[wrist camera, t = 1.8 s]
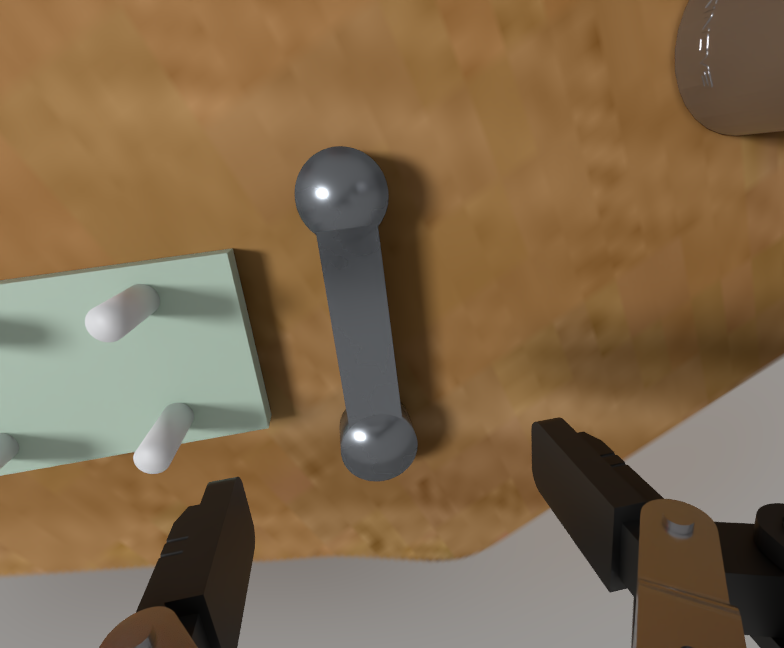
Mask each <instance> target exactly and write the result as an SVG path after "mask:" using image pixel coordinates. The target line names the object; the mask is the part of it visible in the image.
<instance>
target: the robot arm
mask: <svg viewBox="0 0 784 648" xmlns="http://www.w3.org/2000/svg"><path fill="white" fill-rule="evenodd" d="M675 73H676V78H677V83H678V88H679V92H680V94H681V96H682V98H683V101H684V103H685V105H686V107H687V108H688V110H689V111H690V112H691V114H692V115H693V116H694V118H695V119H696V120H697V121H699V122H700V123H701V124H702V125H704V126H705V127H706V128H708V129H710V130H713V131H715V132H717V133H720V134H725V135H734V136H738V135H748V134H758V133H768V132H778V131H784V0H689V2H688V4H687V6H686V8H685V11H684V14H683V17H682V20H681V23H680V26H679V29H678V35H677V41H676V47H675ZM532 472H533V477H534V481H535V484H536V486H537V488H538V490H539V492H540V494H541V495H542V496H543V498H544V499H545V501H546V502H547V504H548V505H549V506H550V508H551V509H552V511H553V512H554V514H555V515H556V516H557V518H558V519H559V521H560V522H561V524H562V525H563V526H564V528H565V529H566V530H567V532H568V534H569V535H570V536H571V538H572V539H573V541H574V542H575V544H576V545H577V546H578V548H579V549H580V551H581V552H582V553H583V555H584V556H585V558H586V559H587V561H588V562H589V563H590V565H591V566H592V568H593V569H594V571H595V572H596V574H597V575H598V576H599V578H600V579H601V581H602V582H603V584H604V585H605V586H606V588H607V589H608V591H609V592H614V591H618V590H622V589H626V588H628V589H629V591H630V592H631V593H632V595H633V596H634V601H633V619H632V640H631V648H746V643H745V637H744V635H750V636H751V637H752V638H753V640H754V641H755V642H756V643H757V644H758V645H759V647H760V648H784V504H780V503H775V504H768V505H765V506H762V507H761V508H760V509H758V511H757V514H756V519H755V524H745V523H726V522H714V521H713V520H712V519H711V518H710V517H709V516H708V515H707V514H706V513H704V512H703V511H701V510H700V509H698V508H696V507H694V506H692V505H690V504H687V503H685V502H681V501H677V500H672V499H664V498H663V497H662V496H661V495H660V494H658V493H657V492H656V491H655V490H654V489H653V488H652V487H651V486H650V485H649V484H647V482H645V481H644V480H643V479H642V478H641V477H640V476H639V475H638V474H637V473H636V472H635V471H634V470H632V468H630V467H629V466H628V465H625V462H624V461H623V460H622V459H621V458H620V457H619V456H618V455H615V454H614V452H613V451H612V450H611V449H610V448H609V447H608V446H607V445H606V444H605V443H604V442H603V441H601V440H599V439H597V438H595V437H593V436H591V435H589V434H587V433H585V432H579V433H577V432H576V431H575V430H574V429H573V428H572V427H571V426H570V425H569V424H568V423H567V422H566V421H565V420H563V419H562V418H554V419H548V420H543V421H538V422H534V423H533V424H532ZM254 549H255V532H254V525H253V521H252V517H251V513H250V510H249V506H248V502H247V498H246V495H245V491H244V487H243V483H242V481H241V479H240V477H235V478H229V479H224V480H219V481H213V482H209V483H208V485H207V487H206V490H205V492H204V495H203V498H202V501H201V503H200V505H195V506H189V507H188V508H187V509H186V510H185V511H184V512H183V513H182V515H181V516H180V517H179V518H178V519H177V520H176V521H175V522H174V524H173V526H172V529H171V531H170V533H169V536H168V538H167V544H165V545H164V547H163V550H162V552H161V558H159V559H158V562H157V564H156V566H155V569H154V571H153V573H152V576H151V578H150V580H149V583H148V586H147V588H146V590H145V592H144V595H143V597H142V599H141V602H140V604H139V606H138V609H137V611H136V613H135V614H133V615H131V616H129V617H128V618H126V619H125V620H123V621H122V622H121V623H119V624H118V625H117V626H116V627H115V628H114V629H113V630H112V631H111V632H110V633H109V634H108V635H107V637H106V638H105V639H104V641H103V642H102V644H101V645H100V647H99V648H237V646H238V639H239V634H240V628H241V622H242V617H243V612H244V606H245V600H246V593H247V588H248V583H249V578H250V572H251V566H252V561H253V555H254Z"/></svg>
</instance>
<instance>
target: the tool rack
mask: <svg viewBox="0 0 784 648" xmlns="http://www.w3.org/2000/svg"><path fill="white" fill-rule="evenodd" d="M270 419H271V411H270V406H269V402H268V398H267V394H266V389H265V385H264V381H263V376H262V372H261V368H260V363H259V359H258V355H257V351H256V346H255V342H254V338H253V333H252V329H251V325H250V320H249V316H248V312H247V308H246V303H245V299H244V295H243V290H242V286H241V282H240V277H239V273H238V269H237V265H236V260H235V256H234V252H233V248H232V249H225V250H218V251H211V252H203V253H196V254H189V255H182V256H174V257H167V258H160V259H153V260H145V261H138V262H131V263H124V264H116V265H109V266H102V267H94V268H87V269H80V270H73V271H65V272H58V273H51V274H44V275H36V276H29V277H22V278H15V279H7V280H0V476H1V475H7V474H12V473H18V472H24V471H29V470H35V469H41V468H46V467H52V466H57V465H63V464H69V463H74V462H80V461H86V460H91V459H97V458H103V457H108V456H114V455H120V454H125V453H131V452H135V453H134V457H133V459H134V463H135V465H136V466H137V468H139V469H140V470H141V471H143V472H145V473H149V474H157V473H161V472H163V471H165V470H166V469H167V468H168V467H169V465H170V463H171V461H172V460H173V458H174V456H175V454H176V452H177V450H178V448H179V446H180V445H181V444H182V443H187V442H193V441H199V440H204V439H210V438H215V437H221V436H227V435H232V434H238V433H244V432H249V431H255V430H261V429H266V428H269V424H270Z"/></svg>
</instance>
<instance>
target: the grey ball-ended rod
mask: <svg viewBox="0 0 784 648" xmlns="http://www.w3.org/2000/svg"><path fill="white" fill-rule="evenodd" d="M295 202H296V206H297V210H298V212H299V215H300V217H301V219H302V220H303V222H304V223H305V225H306V226H307V227H308V228H309V229H310V230H311V231H312V232H313V233H315V234H316V235H317V241H318V247H319V253H320V259H321V265H322V271H323V276H324V282H325V288H326V294H327V300H328V306H329V312H330V317H331V323H332V329H333V335H334V341H335V347H336V352H337V358H338V364H339V370H340V376H341V382H342V388H343V393H344V399H345V405H346V410H345V411H344V413H343V415H342V417H341V420H340V443H341V456H342V459H343V462H344V464H345V466H346V467H347V469H348V470H349V471H350V472H351V473H352V474H354V475H355V476H357V477H359V478H361V479H364V480H368V481H384V480H388V479H391V478H394V477H396V476H398V475H400V474H401V473H403V472H404V471H405V470H406V469H407V468H408V467H409V466H410V465H411V463H412V462H413V460H414V458H415V456H416V452H417V446H418V445H417V437H416V435H415V432H414V429H413V426H412V423H411V421H410V418H409V415H408V412H407V410H406V408H405V407H404V406H403V404H402V403H401V402H400V397H399V389H398V381H397V373H396V365H395V357H394V349H393V341H392V333H391V326H390V318H389V310H388V302H387V294H386V286H385V278H384V270H383V262H382V254H381V246H380V238H379V231H378V226H379V224H380V223H381V221H382V220H383V218H384V216H385V213H386V210H387V206H388V187H387V182H386V179H385V177H384V175H383V172H382V171H381V169H380V167H379V166H378V165H377V164H376V162H375V161H374V160H373V159H372V158H370V157H369V156H368V155H366V154H365V153H363V152H361V151H359V150H357V149H354V148H350V147H343V146H339V147H331V148H327V149H324V150H322V151H320V152H318V153H316V154H315V155H313V156H312V157H311V158H310V159H309V160H308V161H307V162H306V163H305V164H304V165H303V167H302V169H301V170H300V172H299V175H298V177H297V181H296V185H295Z"/></svg>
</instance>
